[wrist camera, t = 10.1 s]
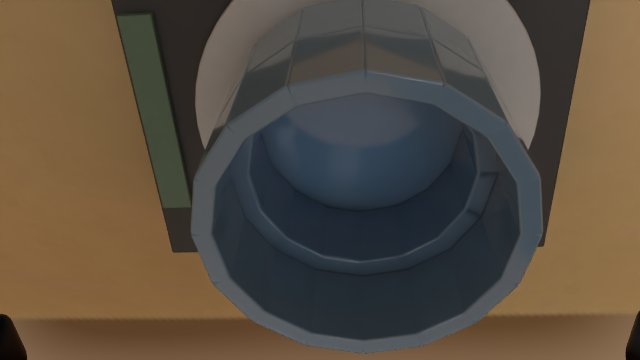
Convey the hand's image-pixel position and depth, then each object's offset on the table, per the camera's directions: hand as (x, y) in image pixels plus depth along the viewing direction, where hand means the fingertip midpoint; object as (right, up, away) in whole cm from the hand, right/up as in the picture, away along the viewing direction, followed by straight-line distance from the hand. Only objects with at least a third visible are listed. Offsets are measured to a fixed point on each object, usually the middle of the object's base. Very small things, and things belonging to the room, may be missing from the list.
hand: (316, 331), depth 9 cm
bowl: (+1, +4, +8) cm, 8 cm away
